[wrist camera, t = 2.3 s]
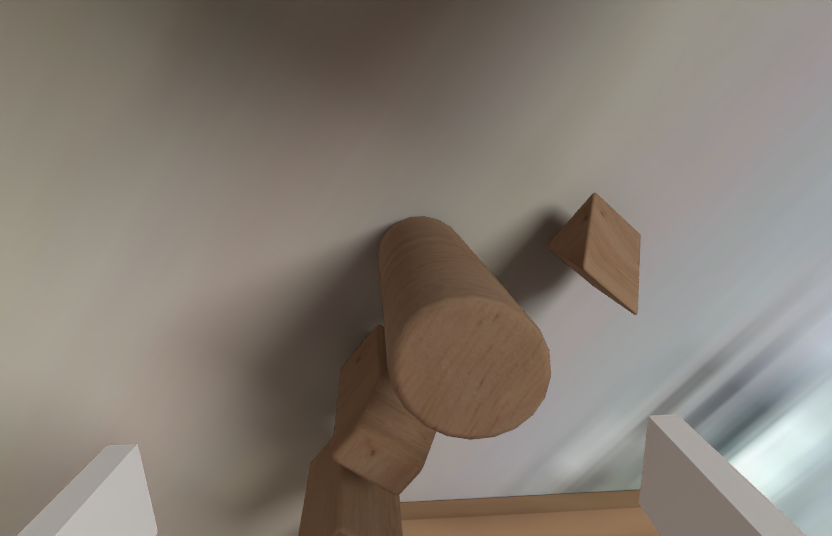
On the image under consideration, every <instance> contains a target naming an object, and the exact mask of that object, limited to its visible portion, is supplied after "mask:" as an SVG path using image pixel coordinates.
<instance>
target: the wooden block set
mask: <svg viewBox="0 0 832 536" xmlns="http://www.w3.org/2000/svg"><path fill="white" fill-rule="evenodd" d="M640 238H641V236H640V234H639V233H638V232H637V231H636V230H635V229H634V228H633V227H632V226H631V225H630V224H629V223H627V222H626V221H625V220H624V219H623V218H622V217H621V216H620V215H619V214H618V213H617V212H616V211H615V210H614V209H613V208H611V207H610V206H609V205H608V204H607V203H606V202H605V201H604V200H603V199H602V198H601V197H600V196H599V195H598V194H597V193H593V194H592V195H591V196H590V197H589V199H588V200H587V201H586V202H585V203H584V204H583V205H582V207H581V208H580V209H579V210H578V211H577V212H576V213H575V215H574V216H573V217H572V218H571V219H570V220H569V221H568V222H567V224H566V225H565V226H564V227H563V228H562V229H561V230H560V232H559V233H558V234H557V235H556V236H555V237H554V238H553V239H552V241H551V242H550V243H549V244H548V248H549V249H550V250H551V251H552V252H554V253H555V254H556V255H557V256H558V257H559V258H561V259H562V260H563V261H564V262H565V263H567V264H568V265H569V266H570V267H571V268H572V269H574V270H575V271H576V272H577V273H578V274H579V275H581V276H582V277H583V278H584V279H585V280H587V281H588V282H589V283H590V284H591V285H592V286H594V287H595V288H597V289H598V290H600V291H601V292H602V293H604V294H605V295H607V296H608V297H610V298H611V299H613V300H614V301H615V302H617V303H618V304H620V305H621V306H623V307H624V308H626V309H627V310H628V311H630V312H631V313H633V314H634V315H637V313H638V290H639V264H640ZM378 258H379V270H380V282H381V294H382V306H383V318H384V326H382V325H378V326H376V327H375V328H374V329H373V330H372V332H371V333H370V334H369V335H368V336H367V338H366V339H365V340H364V341H363V342H362V344H361V345H360V346H359V347H358V348H357V350H356V351H355V352H354V353H353V354H352V356H351V357H350V358H349V359H348V361H347V362H346V363H345V364H344V365H343V367H342V368H341V373H340V382H339V391H338V400H337V409H336V418H335V427H334V436H333V438H332V439H331V440H330V441H329V443H328V444H327V445H326V446H325V447H324V448H323V450H322V451H321V452H320V453H319V454H318V455H317V457H316V458H315V459H314V460H313V461H312V462H311V465H310V471H309V476H308V482H307V488H306V494H305V500H304V506H303V512H302V517H301V523H300V529H299V535H298V536H403V533H402V521H401V510H400V498H399V494H400V493H401V492H402V491H403V490H404V489H405V488H406V487H407V486H408V485H409V484H410V483H411V482H412V480H413V479H414V478H415V477H416V476H417V475H418V474H419V473H420V471H421V470H422V468H423V466H424V464H425V461H426V458H427V455H428V453H429V450H430V447H431V444H432V442H433V439H434V436H435V433H436V431H437V432H439V433H442V434H444V435H446V436H451V437H457V438H464V439H470V440H471V439H480V438H489V437H495V436H498V435H500V434H503V433H505V432H508V431H510V430H513V429H515V428H517V427H518V426H519V425H521V424H522V423H523V422H524V421H526V420H527V419H528V418H530V417H531V416H532V415H533V414H534V413H535V411H536V410H537V408H538V407H539V405H540V404H541V402H542V401H543V400H544V398H545V396H546V392H547V389H548V385H549V381H550V378H551V368H550V355H549V349H548V347H547V344H546V342H545V340H544V338H543V335H542V333H541V331H540V329H539V328H538V327H537V325H536V324H535V323H534V322H533V321H532V320H531V319H530V317H529V316H528V315H527V314H526V313H525V312H524V310H523V309H522V308H521V307H520V306H519V305H518V303H517V302H516V301H515V300H514V299H513V298H512V297H511V295H510V294H509V293H508V292H507V291H506V290H505V288H504V287H503V286H502V285H501V284H500V283H499V281H498V280H497V279H496V278H495V277H494V276H493V275H492V273H491V272H490V271H489V270H488V269H487V268H486V266H485V265H484V264H483V263H482V262H481V261H480V259H479V258H478V257H477V256H476V255H475V254H474V253H473V251H472V250H471V249H470V248H469V247H468V246H467V244H466V243H465V242H464V241H463V240H462V239H461V237H460V236H459V235H458V234H457V233H456V232H455V231H454V230H453V229H452V228H451V227H450V226H448V225H446V224H445V223H443V222H441V221H439V220H437V219H433V218H429V217H425V216H422V217H409V218H407V219H404V220H402V221H399V222H397V223H396V224H395V225H393V226H392V227H391V228H390V229H389V230H388V231H387V232H386V234H385V235H384V237H383V239H382V241H381V243H380V248H379V255H378Z"/></svg>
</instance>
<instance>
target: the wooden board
mask: <svg viewBox="0 0 832 536" xmlns="http://www.w3.org/2000/svg"><path fill="white" fill-rule="evenodd" d="M639 496H640V490H628V491H609V492H590V493H572V494H553V495H534V496H516V497H497V498H478V499H459V500H441V501H422V502H403V503H400V510H401V521H402V533H403V536H661V535H660V534H659V532H658V531H657V530H656V528H655V527H654V525H653V524H652V522H651V521H650V519H649V518H648V516H647V515H646V513H645V512H644V511H643V509H642V508H641V506H640V505H639Z"/></svg>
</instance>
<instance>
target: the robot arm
mask: <svg viewBox="0 0 832 536" xmlns="http://www.w3.org/2000/svg"><path fill="white" fill-rule="evenodd" d="M639 505H640V506H641V508H642V509H643V511H644V512H645V513H646V515H647V516H648V518H649V519H650V521H651V522H652V524H653V525H654V527H655V528H656V530H657V531H658V532H659V534H660V535H661V536H806V535H805V534H804V533H803V532H802V531H801V530H800V529H799V528H798V527H797V526H796V525H795V524H793V523H792V522H791V521H790V520H789V519H788V518H787V517H786V516H785V515H784V514H783V513H782V512H781V511H780V510H779V509H778V508H776V507H775V506H774V505H773V504H772V503H771V502H770V501H769V500H768V499H767V498H766V497H765V496H764V495H763V494H762V493H761V492H759V491H758V490H757V489H756V488H755V487H754V486H753V485H752V484H751V483H750V482H749V481H748V480H747V479H746V478H745V477H744V476H742V475H741V474H740V473H739V472H738V471H737V470H736V469H735V468H734V467H733V466H732V465H731V464H730V463H729V462H728V461H727V460H725V459H724V458H723V457H722V456H721V455H720V454H719V453H718V452H717V451H716V450H715V449H714V448H713V447H712V446H711V445H710V444H708V443H707V442H706V441H705V440H704V439H703V438H702V437H701V436H700V435H699V434H698V433H697V432H696V431H695V430H694V429H693V428H691V427H690V426H689V425H688V424H687V423H686V422H685V421H684V420H683V419H682V418H681V417H680V416H679V415H678V414H674V415H655V416H648V425H647V434H646V443H645V452H644V461H643V470H642V479H641V488H640V496H639ZM157 533H158V530H157V526H156V521H155V517H154V513H153V508H152V504H151V500H150V495H149V491H148V487H147V482H146V478H145V474H144V469H143V465H142V461H141V456H140V452H139V448H138V444H123V445H107V446H106V447H105V448H104V449H103V450H102V451H101V452H100V453H99V454H98V455H97V456H96V457H95V458H94V459H93V460H92V461H91V462H90V463H89V464H88V465H87V466H86V467H85V468H84V469H83V470H82V471H81V472H80V473H79V474H78V475H77V476H76V477H75V478H74V479H73V480H72V481H71V482H70V483H69V484H68V485H67V486H66V487H65V488H64V489H63V490H62V491H61V492H60V493H59V494H58V495H57V496H56V497H55V498H54V499H53V500H52V501H51V502H50V503H49V504H48V505H47V506H46V507H45V508H44V509H43V510H42V511H41V512H40V513H39V514H38V515H37V516H36V517H35V518H34V519H33V520H32V521H31V522H30V523H29V524H28V525H27V526H26V527H25V528H24V529H23V530H22V531H21V532H20V533H19V534H18V535H17V536H156V535H157Z"/></svg>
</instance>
